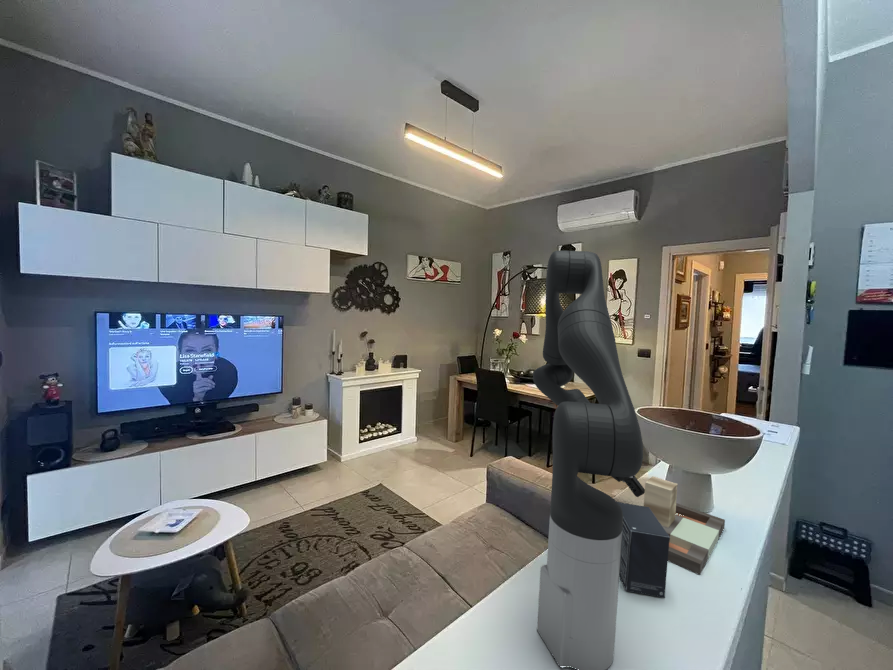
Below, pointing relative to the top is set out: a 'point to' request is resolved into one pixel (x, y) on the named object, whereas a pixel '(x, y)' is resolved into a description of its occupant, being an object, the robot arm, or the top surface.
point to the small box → (643, 551)
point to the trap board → (696, 554)
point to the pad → (694, 535)
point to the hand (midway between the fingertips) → (641, 494)
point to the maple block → (661, 499)
